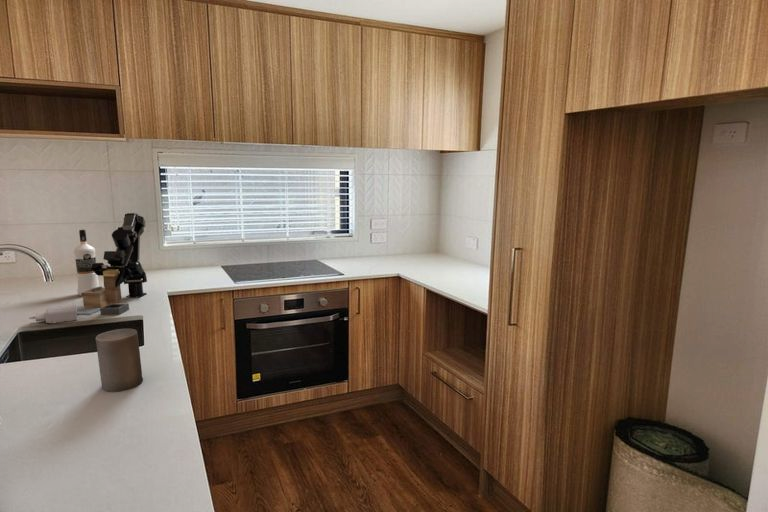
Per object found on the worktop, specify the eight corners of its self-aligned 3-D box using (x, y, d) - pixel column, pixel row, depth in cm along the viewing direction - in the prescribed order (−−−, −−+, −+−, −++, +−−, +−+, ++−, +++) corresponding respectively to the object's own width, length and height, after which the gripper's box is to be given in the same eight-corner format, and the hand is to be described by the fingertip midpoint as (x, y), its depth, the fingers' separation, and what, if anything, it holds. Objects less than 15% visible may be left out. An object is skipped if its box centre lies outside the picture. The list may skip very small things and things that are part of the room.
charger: (31, 321, 187) (77, 315, 194) (28, 327, 179) (77, 321, 186) (29, 309, 186) (76, 303, 193) (26, 315, 178) (75, 309, 186)
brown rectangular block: (111, 300, 199) (108, 269, 196) (121, 300, 199) (118, 269, 196) (106, 303, 195) (102, 271, 192) (116, 303, 195) (112, 271, 192)
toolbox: (96, 302, 212) (94, 285, 211) (114, 302, 212) (112, 285, 211) (82, 308, 203) (80, 290, 201) (101, 308, 203) (99, 290, 201)
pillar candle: (149, 376, 134) (143, 323, 132) (132, 391, 124) (126, 334, 122) (113, 377, 134) (106, 324, 131) (93, 393, 124) (86, 336, 122)
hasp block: (111, 309, 201) (110, 303, 201) (129, 309, 201) (128, 303, 200) (100, 314, 194) (100, 308, 193) (119, 314, 194) (118, 308, 193)
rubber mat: (83, 309, 202) (83, 308, 202) (103, 309, 202) (103, 307, 202) (71, 314, 194) (71, 313, 194) (91, 314, 194) (91, 313, 194)
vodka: (100, 290, 234) (93, 228, 229) (101, 294, 226) (94, 229, 221) (77, 293, 229) (69, 229, 224) (78, 297, 221) (70, 231, 216)
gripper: (90, 243, 197) (76, 275, 188) (136, 242, 196) (124, 275, 187) (103, 259, 206) (90, 291, 197) (148, 258, 205) (137, 290, 196)
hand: (110, 286), depth 194 cm, fingers closed on brown rectangular block, 4 cm apart
